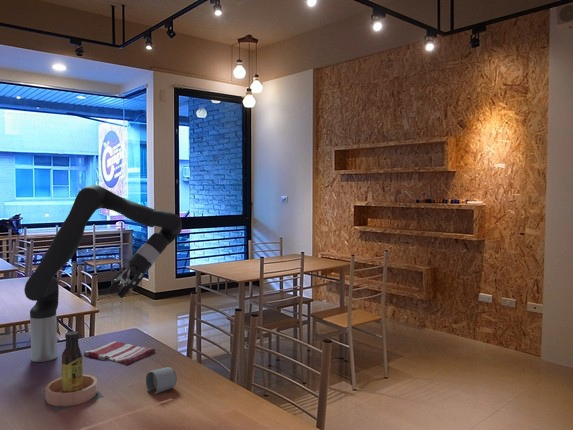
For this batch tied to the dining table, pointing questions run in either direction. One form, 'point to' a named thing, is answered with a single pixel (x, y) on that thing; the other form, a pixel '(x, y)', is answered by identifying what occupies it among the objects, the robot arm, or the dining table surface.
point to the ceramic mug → (161, 379)
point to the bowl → (71, 398)
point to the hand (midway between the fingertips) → (114, 294)
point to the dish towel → (119, 352)
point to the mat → (71, 406)
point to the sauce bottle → (72, 364)
